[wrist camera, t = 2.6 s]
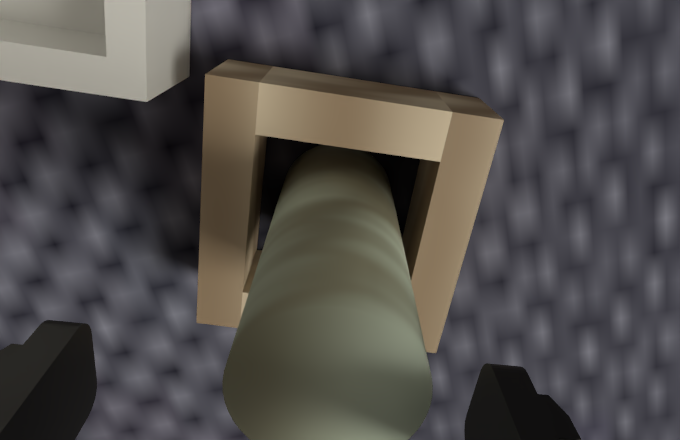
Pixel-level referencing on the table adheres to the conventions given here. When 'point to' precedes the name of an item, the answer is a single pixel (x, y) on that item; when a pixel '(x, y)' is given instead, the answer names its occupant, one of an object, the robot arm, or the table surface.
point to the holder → (348, 132)
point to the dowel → (330, 313)
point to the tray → (96, 45)
